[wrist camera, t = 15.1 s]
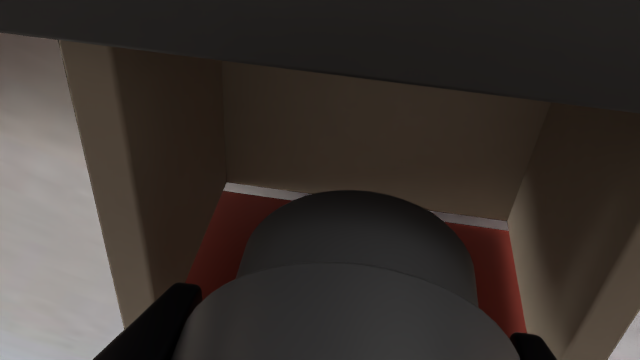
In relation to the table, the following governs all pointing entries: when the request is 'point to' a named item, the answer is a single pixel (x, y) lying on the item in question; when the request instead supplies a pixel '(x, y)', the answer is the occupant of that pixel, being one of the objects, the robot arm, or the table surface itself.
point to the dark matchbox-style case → (379, 40)
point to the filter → (347, 289)
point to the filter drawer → (361, 180)
